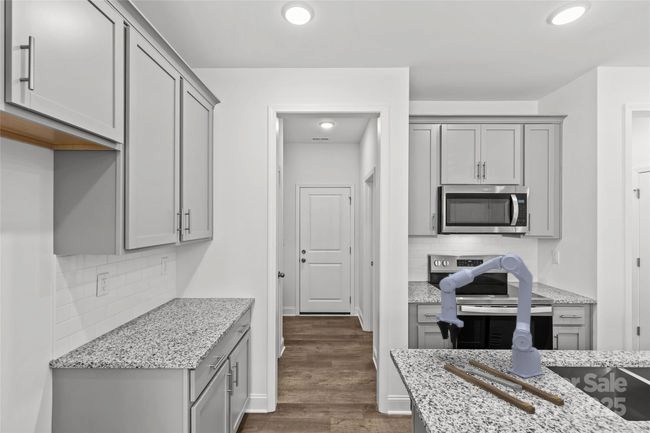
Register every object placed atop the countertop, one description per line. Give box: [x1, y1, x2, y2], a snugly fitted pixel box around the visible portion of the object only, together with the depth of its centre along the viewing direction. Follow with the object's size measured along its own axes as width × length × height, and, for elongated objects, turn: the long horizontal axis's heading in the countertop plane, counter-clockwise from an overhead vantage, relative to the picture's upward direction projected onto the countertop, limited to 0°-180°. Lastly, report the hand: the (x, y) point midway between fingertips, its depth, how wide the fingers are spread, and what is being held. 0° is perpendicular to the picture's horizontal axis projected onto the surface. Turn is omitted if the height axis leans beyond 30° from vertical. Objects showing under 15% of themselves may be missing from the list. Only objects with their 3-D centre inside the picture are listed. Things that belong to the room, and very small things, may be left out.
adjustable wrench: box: [455, 363, 523, 392], centre depth 133 cm, size 25×6×2 cm, turn 30°
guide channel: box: [443, 359, 565, 415], centre depth 128 cm, size 14×38×2 cm, turn 21°
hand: (449, 340), depth 150 cm, fingers open, 4 cm apart
